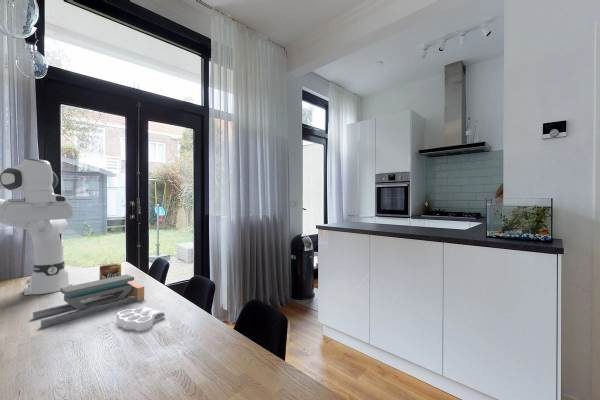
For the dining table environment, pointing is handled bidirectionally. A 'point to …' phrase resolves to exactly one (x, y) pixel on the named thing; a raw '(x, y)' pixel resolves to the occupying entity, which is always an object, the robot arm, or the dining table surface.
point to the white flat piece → (138, 318)
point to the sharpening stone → (97, 291)
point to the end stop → (136, 290)
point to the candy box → (110, 270)
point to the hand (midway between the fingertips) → (41, 231)
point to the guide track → (80, 312)
